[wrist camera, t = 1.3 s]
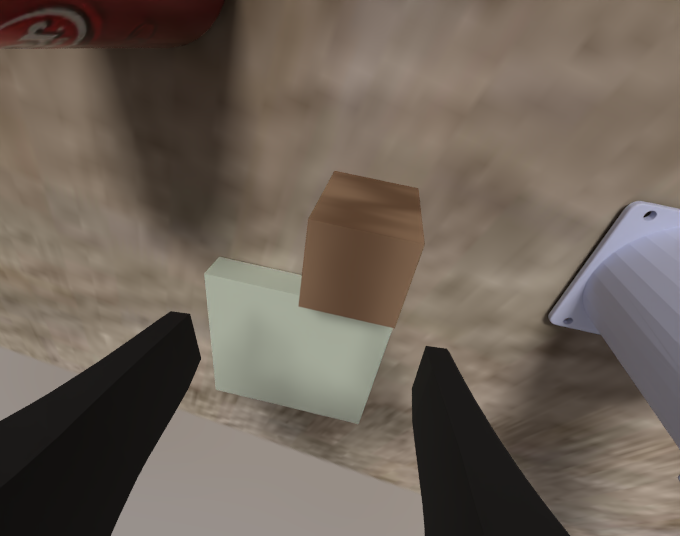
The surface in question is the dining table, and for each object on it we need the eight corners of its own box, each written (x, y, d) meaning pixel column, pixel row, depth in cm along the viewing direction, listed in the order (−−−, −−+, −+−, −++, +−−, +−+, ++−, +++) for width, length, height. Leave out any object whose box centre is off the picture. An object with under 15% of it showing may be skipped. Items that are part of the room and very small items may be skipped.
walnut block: (418, 188, 17) (424, 244, 12) (396, 258, 20) (394, 328, 15) (334, 170, 17) (308, 219, 13) (323, 242, 20) (298, 306, 15)
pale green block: (397, 296, 21) (396, 317, 20) (361, 402, 28) (358, 424, 27) (219, 256, 22) (204, 273, 20) (226, 370, 29) (215, 389, 27)
